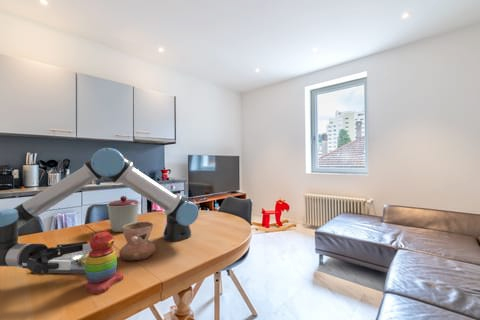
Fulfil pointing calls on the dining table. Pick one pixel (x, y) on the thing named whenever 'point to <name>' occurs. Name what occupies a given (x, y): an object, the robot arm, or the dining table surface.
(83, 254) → the gear
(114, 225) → the canister
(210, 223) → the dining table surface
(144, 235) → the ceramic jug
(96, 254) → the stacking bear
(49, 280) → the dining table surface
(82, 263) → the gear board
